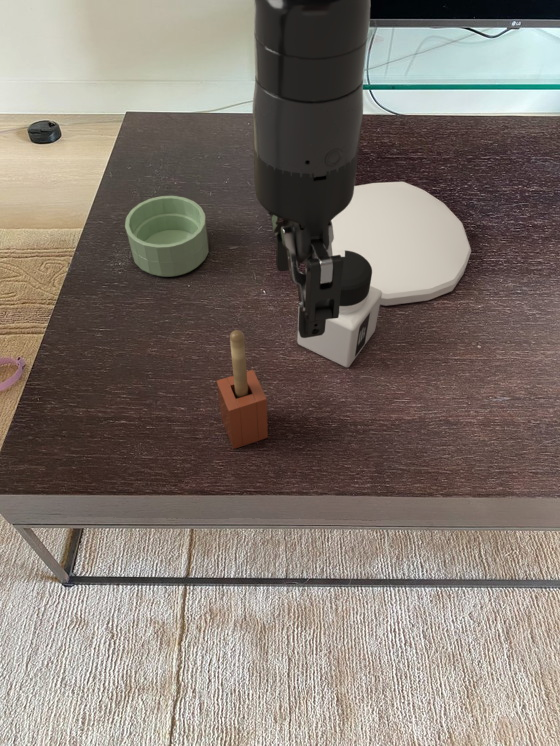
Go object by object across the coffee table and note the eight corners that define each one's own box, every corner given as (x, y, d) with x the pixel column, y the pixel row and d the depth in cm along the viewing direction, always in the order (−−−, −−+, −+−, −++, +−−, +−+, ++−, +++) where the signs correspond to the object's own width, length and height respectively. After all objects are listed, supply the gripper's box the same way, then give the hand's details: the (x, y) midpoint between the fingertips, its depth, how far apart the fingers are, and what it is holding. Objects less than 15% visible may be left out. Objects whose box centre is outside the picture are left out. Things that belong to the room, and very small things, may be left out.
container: (375, 331, 83) (389, 257, 72) (347, 369, 79) (358, 298, 68) (325, 308, 85) (332, 234, 75) (296, 344, 81) (298, 271, 71)
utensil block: (233, 449, 72) (228, 410, 65) (221, 420, 74) (216, 380, 68) (267, 437, 73) (266, 398, 66) (255, 409, 75) (253, 369, 69)
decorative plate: (283, 184, 95) (435, 163, 99) (283, 206, 99) (429, 185, 102) (327, 298, 81) (503, 269, 84) (325, 320, 84) (495, 291, 87)
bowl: (143, 287, 88) (135, 255, 83) (125, 238, 94) (117, 206, 89) (218, 267, 90) (215, 235, 85) (196, 221, 96) (192, 188, 92)
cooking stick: (240, 435, 73) (232, 339, 59) (237, 426, 74) (227, 329, 60) (252, 431, 73) (245, 335, 59) (248, 422, 74) (241, 325, 60)
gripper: (235, 92, 47) (243, 254, 60) (277, 207, 39) (276, 366, 52) (329, 82, 48) (318, 242, 61) (390, 191, 40) (362, 351, 53)
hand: (299, 299), depth 57 cm, fingers open, 8 cm apart
